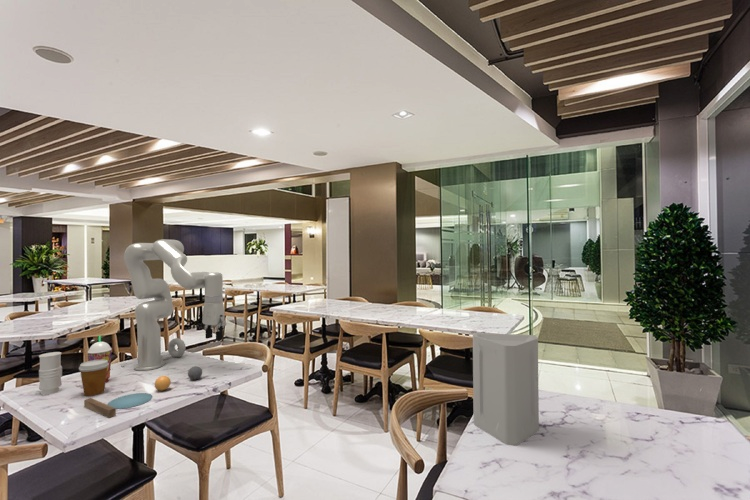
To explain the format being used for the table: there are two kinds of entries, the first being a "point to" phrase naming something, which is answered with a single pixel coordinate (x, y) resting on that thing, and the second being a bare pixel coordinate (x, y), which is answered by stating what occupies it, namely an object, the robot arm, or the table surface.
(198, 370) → the grey ball
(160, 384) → the object ball
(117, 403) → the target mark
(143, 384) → the table surface
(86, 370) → the disposable coffee cup
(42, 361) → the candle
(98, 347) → the smoothie
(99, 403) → the wall
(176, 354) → the donut
